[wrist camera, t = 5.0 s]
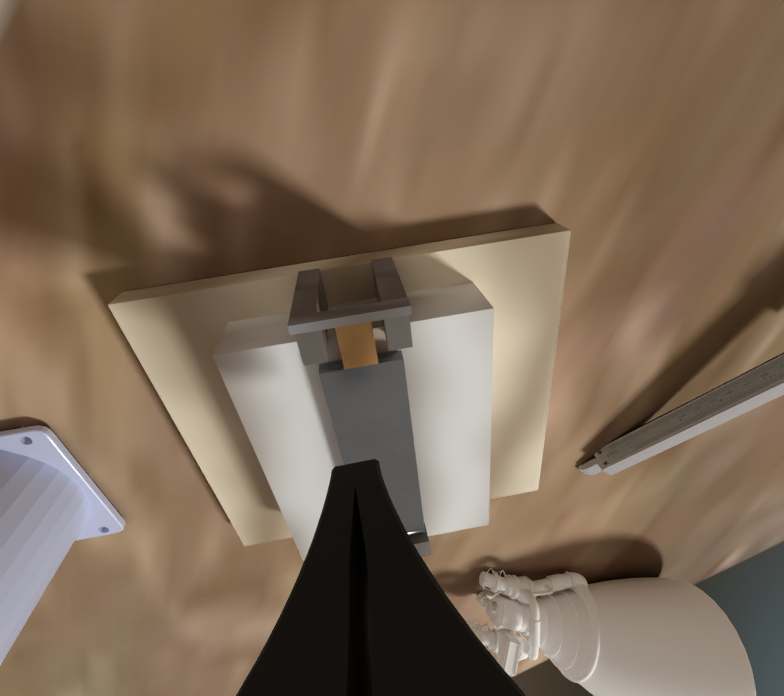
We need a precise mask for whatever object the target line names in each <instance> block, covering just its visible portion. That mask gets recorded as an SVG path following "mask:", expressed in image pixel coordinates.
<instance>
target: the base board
mask: <svg viewBox="0 0 784 696" xmlns="http://www.w3.org/2000/svg"><path fill="white" fill-rule="evenodd" d="M570 235H571V230H570V229H568V228H566V227H564V226H562V225H560V224H558V223H551V224H545V225H539V226H532V227H526V228H520V229H514V230H507V231H501V232H495V233H489V234H482V235H476V236H470V237H464V238H457V239H451V240H445V241H439V242H432V243H426V244H420V245H414V246H407V247H401V248H395V249H389V250H382V251H376V252H370V253H364V254H357V255H351V256H345V257H338V258H332V259H326V260H320V261H313V262H307V263H301V264H295V265H288V266H282V267H276V268H270V269H263V270H257V271H251V272H245V273H238V274H232V275H226V276H220V277H213V278H207V279H201V280H195V281H188V282H182V283H176V284H170V285H163V286H157V287H151V288H145V289H138V290H132V291H126V292H122V293H121V294H119V295H118V296H117V297H116V298H115V299H114V300H113V301H112V302H110V303H109V304H108V306H109V308H110V310H111V312H112V313H113V315H114V317H115V319H116V320H117V322H118V324H119V326H120V327H121V329H122V331H123V333H124V335H125V336H126V338H127V340H128V342H129V343H130V345H131V347H132V349H133V350H134V352H135V354H136V356H137V357H138V359H139V361H140V363H141V364H142V366H143V368H144V370H145V372H146V373H147V375H148V377H149V379H150V380H151V382H152V384H153V386H154V387H155V389H156V391H157V393H158V394H159V396H160V398H161V400H162V401H163V403H164V405H165V407H166V408H167V410H168V412H169V414H170V416H171V417H172V419H173V421H174V423H175V424H176V426H177V428H178V430H179V431H180V433H181V435H182V437H183V438H184V440H185V442H186V444H187V445H188V447H189V449H190V451H191V453H192V454H193V456H194V458H195V460H196V461H197V463H198V465H199V467H200V468H201V470H202V472H203V474H204V475H205V477H206V479H207V481H208V482H209V484H210V486H211V488H212V489H213V491H214V493H215V495H216V497H217V498H218V500H219V502H220V504H221V505H222V507H223V509H224V511H225V512H226V514H227V516H228V518H229V519H230V521H231V523H232V525H233V526H234V528H235V530H236V532H237V534H238V535H239V537H240V539H241V541H242V542H243V544H244V546H249V545H254V544H259V543H264V542H270V541H275V540H280V539H285V538H290V537H293V539H294V541H295V544H296V546H297V548H298V550H299V553H300V555H301V557H302V560H303V561H304V560H305V558H306V555H307V553H308V550H309V548H310V545H311V542H312V540H313V537H314V534H315V531H316V528H317V525H318V522H319V519H320V516H321V513H322V509H323V506H324V502H325V499H326V495H327V491H328V487H329V482H330V478H331V472H332V469H333V468H334V467H335V466H340V465H344V464H343V460H342V456H341V453H340V449H339V445H338V442H337V438H336V434H335V431H334V427H333V424H332V420H331V416H330V413H329V409H328V405H327V402H326V398H325V395H324V391H323V387H322V384H321V380H320V376H319V364H324V363H329V362H335V361H341V360H342V356H341V352H340V348H339V343H338V339H337V335H336V330H335V328H336V327H342V326H348V325H354V324H360V323H366V322H372V328H373V334H374V340H375V346H376V352H377V354H382V353H387V352H393V351H399V350H401V351H402V355H403V358H404V365H405V373H406V381H407V390H408V398H409V406H410V414H411V422H412V430H413V438H414V446H415V454H416V462H417V470H418V478H419V486H420V494H421V502H422V511H423V519H424V527H425V532H424V533H419V534H414V535H409V537H410V538H411V540H412V542H413V544H414V545H415V547H416V549H417V551H418V552H419V554H420V556H421V557H422V556H427V555H431V554H430V546H429V539H428V536H432V535H438V534H443V533H448V532H453V531H458V530H463V529H468V528H473V527H479V526H484V525H489V499H493V498H499V497H504V496H509V495H514V494H519V493H525V492H530V491H535V490H538V486H539V478H540V471H541V463H542V455H543V447H544V439H545V431H546V423H547V416H548V408H549V400H550V392H551V384H552V376H553V368H554V361H555V353H556V345H557V337H558V329H559V321H560V313H561V306H562V298H563V290H564V282H565V274H566V266H567V258H568V251H569V243H570Z"/></svg>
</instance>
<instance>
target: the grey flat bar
mask: <svg viewBox="0 0 784 696" xmlns="http://www.w3.org/2000/svg"><path fill="white" fill-rule="evenodd" d="M335 330H336V335H337V339H338V343H339V348H340V352H341V356H342V360H341V361H335V362H329V363H324V364H319V376H320V380H321V384H322V387H323V391H324V395H325V398H326V402H327V405H328V409H329V413H330V416H331V420H332V424H333V427H334V431H335V434H336V438H337V442H338V445H339V449H340V453H341V456H342V460H343V464H344V465H346V464H351V463H356V462H361V461H366V460H371V459H376V460H378V461H379V463H380V468H381V473H382V477H383V480H384V483H385V486H386V488H387V491H388V493H389V496H390V498H391V501H392V503H393V505H394V507H395V509H396V511H397V513H398V515H399V517H400V519H401V522H402V524H403V526H404V527H405V529H406V531H407V533H408V535H414V534H419V533H424V532H425V527H424V519H423V511H422V502H421V494H420V486H419V478H418V470H417V462H416V454H415V446H414V438H413V430H412V422H411V414H410V406H409V398H408V390H407V381H406V373H405V365H404V358H403V355H402V351H401V350H399V351H393V352H387V353H382V354H377V352H376V346H375V340H374V334H373V328H372V322H366V323H360V324H354V325H348V326H342V327H336V328H335Z"/></svg>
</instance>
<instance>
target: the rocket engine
mask: <svg viewBox="0 0 784 696" xmlns="http://www.w3.org/2000/svg"><path fill="white" fill-rule="evenodd" d="M490 569H492V568H490ZM490 569H489V570H490ZM489 570H488V571H489ZM492 570H493V569H492ZM488 571H487V572H484V571H482V572H481V574H480V576H479V585H480V586H482V588H483V589H484V586H486V587H489V588H490V590H489V589H487V590H489V591H492V592H494V594H493V596H487V595H486V594H485V593H484V592H480V593H479V594H478V595H477V601H478V602H479V603H480V604H481V605H482V606H483V607H486V612H487V615H488V616H489V617H490V619H491V621H492V623H493V630H491V629H490V627H489V625H488V623H487V624H485V625H486V626H488V630H489V631H485V628H486V626H485V625H482V626H485V628H484V630H483V628H482V626H481V625H477V623H476V621H475V620H474V621H475V623H476V625H477V627H476V628H473V627H470V626H471V625H472V624H473V622H474V621H470V622H472V623H471V625H470V626H469V627H470V628H471V630H472V631H473V632H474V634H475V635H476V636H477V637H478V639H479V640H480V641H481V642H482V644H483V645H485V647H486V646H488V650H490V648H491V650H492V651H493V652H495V654H496V655H497V659H496V661H497V662H498V663H499V664H500V666H501V667H502V668H503V669H504V670H505V672H506V673H507V674H508V675H511V676H513V675H514V676H516V673H517V667H518V662H519V661H521V660H523V659H526V658H527V657H528V656H529V658H530V659H531V660H536V659H537V658H538V648H539V650H540V651H541V652H542V654H543V655H545V656H547V657H549V658H550V660H551V661H552V662H553V664H554V665H555V666H556V667H558V669H559V670H560V672H561V673H562V674H563V675H564V676H565V677H566V678H567V679H569V680H571V681H573V682H578V683H579V684H580V685H581V686H583V687H584V688H585V689H586V690H588V691H589V692H590V693H592V694H593V695H594V696H756V689H755V684H754V678H753V673H752V669H751V666H750V663H749V660H748V657H747V654H746V650H745V649H744V646H743V644H742V642H741V640H740V638H739V636H738V633H737V632H736V630H735V628H734V627H733V625H732V624H731V622H730V620H729V619H728V617H727V616H726V614H725V613H724V612H723V611H722V610H721V608H720V607H719V606H718V605H717V604H716V603H715V602H714V600H712V599H711V598H710V597H709V596H708V595H707V594H705V593H704V592H703V591H702V590H700V589H699V588H697V587H695V586H694V585H692V584H690V583H688V582H685V581H682V580H679V579H672V578H654V577H646V578H627V579H618V580H610V581H603V582H597V583H592V584H588V583H587V581H586V579H585V578H584V577H583V576H582V575H581V574H579V573H575V572H568V571H566V572H565V573H564V574H555V575H550V576H547V577H546V578H545V579H540V580H535V581H532V580H530V579H529V578H528V577H527V576H520V577H517V576H516V575H509V574H508V575H506V574H504V577H501V576H500V575H501V573H502V572H503V573H505V572H504V570H502V571H499V572H501V573H500V575H498V573H499V572H496V571H492V573H493V574H490V573H488ZM485 589H486V588H485ZM503 591H504V593H503ZM501 592H502V594H503V595H504V594H505V595H508V596H509V598H511V599H508V598H504V597H501V596H500V595H499V594H500V593H501ZM536 596H541V597H540V598H536ZM489 598H492V599H491V600H489ZM512 599H517V600H518V601H519V602H521V603H522V604H521V603H518V602H516V601H515V600H512ZM470 622H466V623H470ZM496 627H497V628H499V627H501V628H505V629H499V630H497V629H496ZM511 630H512V631H516V630H518V631H521V632H522V633H523V634H524V635H525V636H527V637H528V638H529V642H528V640H527V639H526V638H525V637H524V636H522V634H520V633H516V634H513V633H512V631H511ZM486 649H487V648H486ZM496 652H497V653H498V654H497V653H496ZM517 660H518V661H517ZM516 665H517V666H516ZM515 670H516V671H515Z"/></svg>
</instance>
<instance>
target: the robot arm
mask: <svg viewBox="0 0 784 696" xmlns="http://www.w3.org/2000/svg"><path fill="white" fill-rule="evenodd" d="M125 524H126V523H125V521H124V519H123V518H122V517H121V516H120V514H119V513H118V512H117V511H116V509H115V508H114V507H113V506H112V504H111V503H110V502H109V501H108V500H107V498H106V497H105V496H104V495H103V493H102V492H101V491H100V490H99V488H98V487H97V486H96V485H95V483H94V482H93V481H92V480H91V479H90V477H89V476H88V475H87V474H86V472H85V471H84V470H83V469H82V467H81V466H80V465H79V464H78V462H77V461H76V460H75V459H74V457H73V456H72V455H71V454H70V453H69V451H68V450H67V449H66V448H65V446H64V445H63V444H62V443H61V441H60V440H59V439H58V438H57V436H56V435H55V434H54V433H53V432H52V431H51V430H50V429H49V428H47V427H45V426H30V427H24V428H19V429H13V430H7V431H1V432H0V665H1V663H2V662H3V660H4V658H5V657H6V655H7V653H8V652H9V650H10V648H11V647H12V645H13V643H14V642H15V640H16V638H17V637H18V635H19V633H20V632H21V630H22V628H23V626H24V625H25V623H26V621H27V620H28V618H29V616H30V615H31V613H32V611H33V610H34V608H35V606H36V605H37V603H38V601H39V600H40V598H41V596H42V594H43V593H44V591H45V589H46V588H47V586H48V584H49V583H50V581H51V579H52V578H53V576H54V574H55V573H56V571H57V569H58V568H59V566H60V564H61V563H62V561H63V559H64V557H65V556H66V554H67V552H68V551H69V549H70V547H71V546H72V544H73V542H74V541H76V540H81V539H86V538H92V537H97V536H102V535H108V534H113V533H118V532H121V531H122V530H123V528H124V526H125ZM236 696H525V694H524V693H523V692H522V690H521V689H520V688H519V687H518V685H517V684H516V683H515V682H514V681H513V680H512V679H511V677H510V676H509V675H508V674H507V673H506V672H505V670H504V669H503V668H502V667H501V666H500V664H499V663H498V662H497V661H496V660H495V658H494V657H493V656H492V655H491V654H490V652H489V651H488V650H487V649H486V647H485V646H484V645H483V644H482V642H481V641H480V640H479V639H478V637H477V636H476V635H475V634H474V632H473V631H472V630H471V628H470V627H469V626H468V624H467V623H466V622H465V620H464V619H463V617H462V616H461V615H460V613H459V612H458V611H457V609H456V608H455V607H454V605H453V604H452V603H451V601H450V600H449V599H448V597H447V596H446V594H445V593H444V591H443V590H442V588H441V587H440V585H439V584H438V582H437V581H436V579H435V578H434V576H433V575H432V573H431V572H430V570H429V569H428V567H427V566H426V564H425V562H424V561H423V559H422V557H421V556H420V554H419V552H418V551H417V549H416V547H415V545H414V544H413V542H412V540H411V538H410V537H409V535H408V533H407V531H406V529H405V527H404V526H403V524H402V522H401V519H400V517H399V515H398V513H397V511H396V509H395V507H394V505H393V503H392V501H391V498H390V496H389V493H388V491H387V488H386V486H385V483H384V480H383V477H382V473H381V468H380V463H379V461H378V460H376V459H371V460H366V461H361V462H356V463H351V464H346V465H340V466H335V467H334V468H333V469H332V472H331V478H330V482H329V487H328V491H327V495H326V499H325V502H324V506H323V509H322V513H321V516H320V519H319V522H318V525H317V528H316V531H315V534H314V537H313V540H312V542H311V545H310V548H309V550H308V553H307V555H306V558H305V561H304V563H303V566H302V568H301V571H300V573H299V576H298V578H297V580H296V583H295V585H294V587H293V589H292V592H291V594H290V596H289V598H288V600H287V602H286V605H285V607H284V609H283V611H282V613H281V615H280V617H279V619H278V621H277V623H276V625H275V627H274V629H273V631H272V633H271V635H270V637H269V639H268V641H267V642H266V644H265V646H264V648H263V650H262V652H261V654H260V655H259V657H258V659H257V661H256V662H255V664H254V666H253V668H252V669H251V671H250V673H249V674H248V676H247V678H246V680H245V681H244V683H243V685H242V686H241V688H240V690H239V692H238V693H237V695H236Z"/></svg>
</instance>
